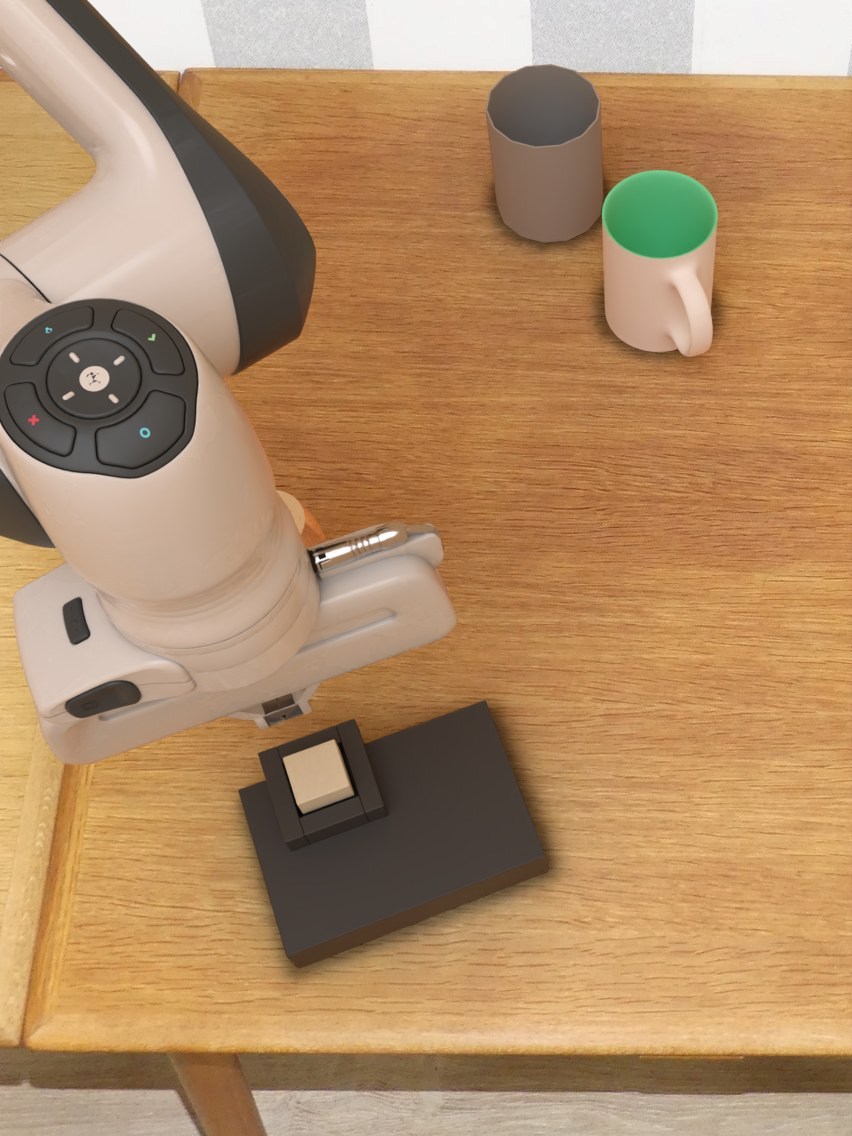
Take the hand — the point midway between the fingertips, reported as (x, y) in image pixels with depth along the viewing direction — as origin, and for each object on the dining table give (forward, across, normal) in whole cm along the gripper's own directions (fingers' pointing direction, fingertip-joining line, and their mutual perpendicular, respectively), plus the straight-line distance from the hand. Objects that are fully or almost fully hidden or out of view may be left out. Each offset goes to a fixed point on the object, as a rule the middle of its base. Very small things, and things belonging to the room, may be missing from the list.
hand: (283, 709), depth 77 cm
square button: (+11, 0, 0) cm, 11 cm away
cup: (+16, -30, -42) cm, 54 cm away
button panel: (+16, -3, +3) cm, 16 cm away
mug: (+16, -34, -27) cm, 46 cm away
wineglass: (+16, -2, -14) cm, 21 cm away
